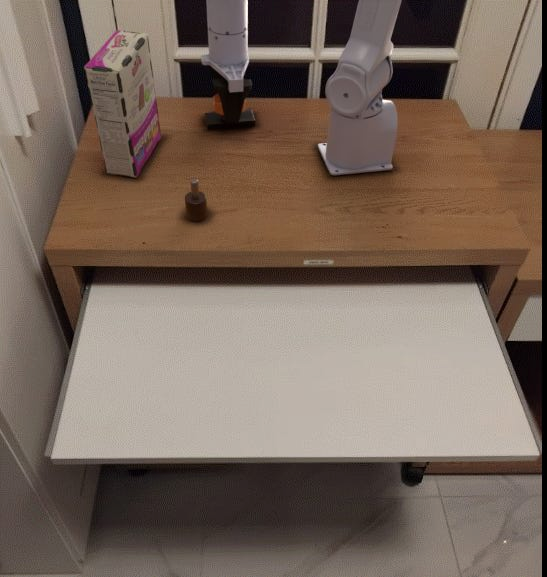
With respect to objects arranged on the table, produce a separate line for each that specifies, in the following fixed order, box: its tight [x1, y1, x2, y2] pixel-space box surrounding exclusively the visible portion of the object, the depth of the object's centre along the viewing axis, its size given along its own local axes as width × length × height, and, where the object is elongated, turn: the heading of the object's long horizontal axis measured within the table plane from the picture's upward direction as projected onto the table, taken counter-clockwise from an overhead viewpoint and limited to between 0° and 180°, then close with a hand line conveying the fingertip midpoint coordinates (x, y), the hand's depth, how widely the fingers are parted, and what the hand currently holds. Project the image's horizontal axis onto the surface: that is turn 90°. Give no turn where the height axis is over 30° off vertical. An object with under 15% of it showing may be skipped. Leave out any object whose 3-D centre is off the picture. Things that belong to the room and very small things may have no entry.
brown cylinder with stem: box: [184, 178, 208, 222], centre depth 83 cm, size 3×3×6 cm
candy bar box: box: [83, 30, 162, 179], centre depth 89 cm, size 11×5×16 cm, turn 168°
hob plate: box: [204, 108, 256, 131], centre depth 101 cm, size 8×4×1 cm, turn 102°
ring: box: [212, 93, 246, 115], centre depth 99 cm, size 5×5×2 cm
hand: (229, 112), depth 101 cm, fingers closed on ring, 5 cm apart
